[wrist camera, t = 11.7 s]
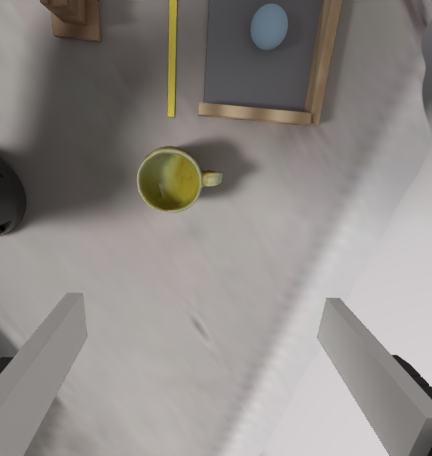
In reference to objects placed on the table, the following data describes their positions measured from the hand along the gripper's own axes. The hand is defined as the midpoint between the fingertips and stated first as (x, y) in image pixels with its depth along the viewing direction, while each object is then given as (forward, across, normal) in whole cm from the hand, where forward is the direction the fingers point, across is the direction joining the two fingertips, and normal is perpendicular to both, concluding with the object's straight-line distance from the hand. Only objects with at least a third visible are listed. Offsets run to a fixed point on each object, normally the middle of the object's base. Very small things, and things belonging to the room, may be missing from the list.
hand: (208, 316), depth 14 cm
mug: (+33, -3, +3) cm, 33 cm away
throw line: (+33, -5, +24) cm, 41 cm away
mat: (+33, +8, +24) cm, 41 cm away
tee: (+33, -18, +24) cm, 44 cm away
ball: (+30, +8, +24) cm, 39 cm away
